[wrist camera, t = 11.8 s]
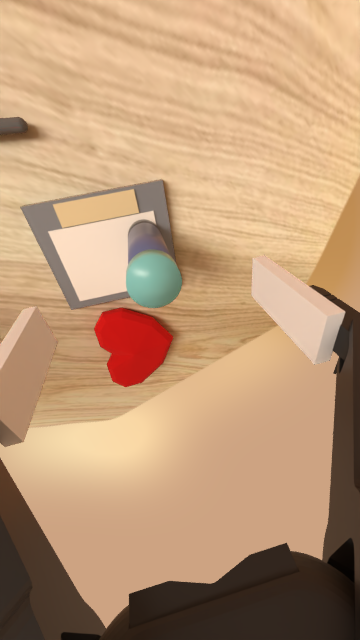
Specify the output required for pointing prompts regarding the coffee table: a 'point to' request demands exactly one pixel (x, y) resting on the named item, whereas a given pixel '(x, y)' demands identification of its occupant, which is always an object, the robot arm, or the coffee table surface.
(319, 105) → the coffee table surface
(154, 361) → the heart
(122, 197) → the clipboard
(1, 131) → the walkie-talkie
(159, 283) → the marker
